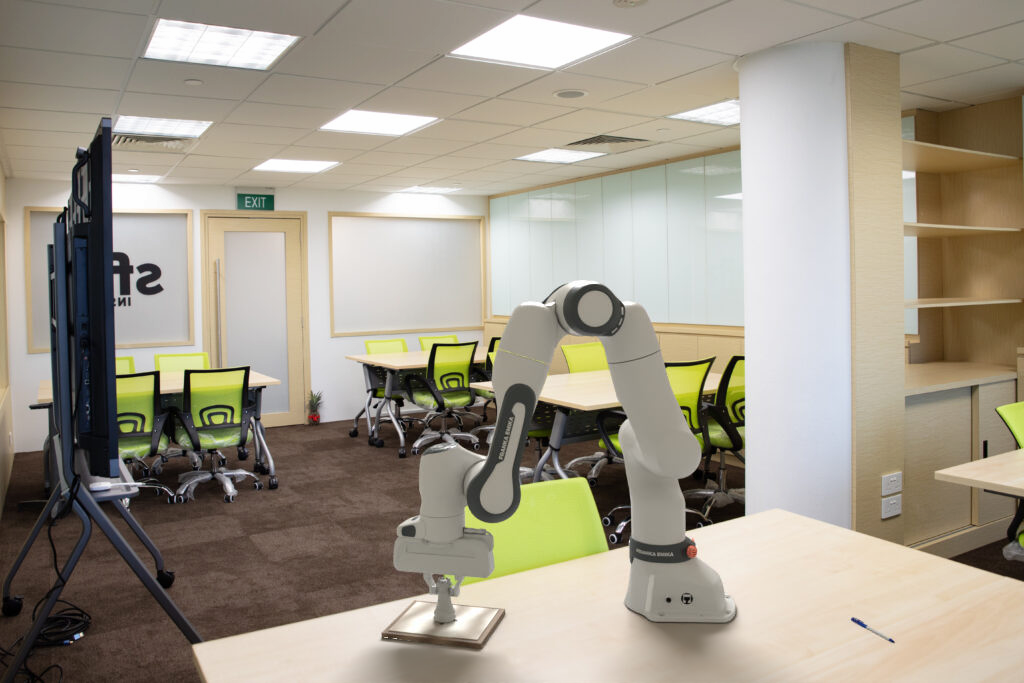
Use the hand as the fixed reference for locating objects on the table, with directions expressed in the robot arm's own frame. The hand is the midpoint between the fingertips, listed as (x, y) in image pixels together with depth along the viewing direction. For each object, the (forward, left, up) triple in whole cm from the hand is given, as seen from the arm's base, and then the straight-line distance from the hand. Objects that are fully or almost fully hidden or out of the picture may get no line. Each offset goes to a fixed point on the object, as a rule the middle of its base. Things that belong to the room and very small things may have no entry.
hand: (444, 594), depth 150 cm
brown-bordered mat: (0, 0, -6) cm, 6 cm away
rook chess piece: (0, 0, -5) cm, 5 cm away
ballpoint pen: (-80, -16, -7) cm, 82 cm away
